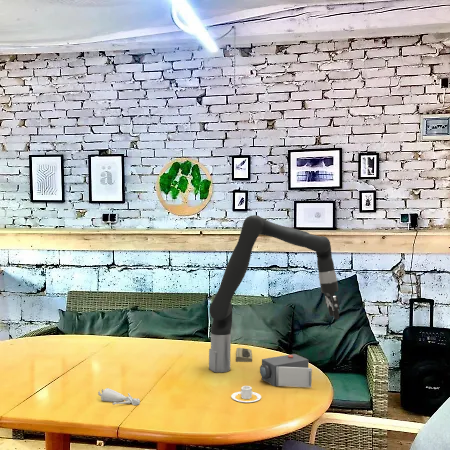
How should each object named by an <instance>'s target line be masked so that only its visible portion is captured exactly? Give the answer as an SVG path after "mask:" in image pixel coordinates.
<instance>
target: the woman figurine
mask: <svg viewBox="0 0 450 450" xmlns="http://www.w3.org/2000/svg"><path fill="white" fill-rule="evenodd" d="M127 395H128V396H125V395H123V393H120V392H118V391H116V390H114V389H111V388H109V387H107V388H105V389H103V388H101V392H100V390H98V396H100V399H101V401H102V402H109V403H112V405H122V404H132V406H139V405H140V403H141V400H140V398H133V396H131V394H130V393H129V392H128V393H127Z"/></svg>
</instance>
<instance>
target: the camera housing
mask: <svg viewBox="0 0 450 450" xmlns="http://www.w3.org/2000/svg"><path fill="white" fill-rule="evenodd" d="M276 366H278V367H300V368H309V359H307V358H306V357H303V356H300V355H299V354H296V353H292V354H287V355H279V356H273V357H266V358H261V365H260V366H259V373H260V376H261V380H263V381H264V382H266V383H267V384H270V386H273V387H277V386H276Z"/></svg>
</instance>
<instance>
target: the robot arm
mask: <svg viewBox="0 0 450 450" xmlns="http://www.w3.org/2000/svg"><path fill="white" fill-rule="evenodd" d="M241 226H242V227H241V230H240V234H239V238H238V240H237V243H236V245H235V247H234V249H233V251H232V253H231V255H230V258H229V260H228V262H227V265H226V267H225V270H224V273H223V276H222V279H221V282H220V284H219V287H218V290H217V292H216V294H215V296H214V298H213V300H212V302H211V303H210V306H209V309H208V310H209V315H210V317H211V318H212V324H211V326H210V348H209V349H208V350H209V351H208V354H209V355H208V369H209V371H212V372H214V373H226V372H229V371H231V350H232V349H231V347H232V346H231V345H232V344H231V341H232V339H231V338H232V337H231V336H232V335H231V334H232V333H231V331H232V327H233V305H232V300H233V297H234V294H235V293H236V291H237V289H238V288H239V286H240V285H241V283H242V281H243V280H244V278H245V276H246V273H247V271H248V269H249V266H250V261H251V256H252V252H253V249H254V245H255V243H256V241H257V239H258V237H259V235H260V236H268V237H271V238H275V239H277V240H280V241H283V242H284V243H287V244H291V245H294V246H297V247H301V248H306V249H308V250H310V251H314V252H315V255H316V259H317V262H316V263H317V264H316V265H317V269H318V270H317V271H318V281H319V286H320V292H321V293H322V294H324V299H325V305H326V306H327V309H328V313H329V316H330V317H333V319H334V320H339V319H340V317H341V316H340V313H339V310H340V303H339V297H338V295H336V293H337V292H338V291H339V284H338V278H337V274H336V271H335V270H336V269H335V266H334V260H333V256H332V254H333V253H332V245H331V241H330V239H329V238H328V237H327V236H324V235H321V236H320V235H316V234H312V233H309V232H307V231H305V230H300V229H297V228H292V227H289V226H285V225H281V224H278V223H275V222H272V221H269V220H267V219H265V218H263V217H261V216H259V215H255V214H254V215H248V216H247V217H246V218H245V219H244V220H243V223H242V225H241Z"/></svg>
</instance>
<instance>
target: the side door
mask: <svg viewBox="0 0 450 450" xmlns="http://www.w3.org/2000/svg"><path fill="white" fill-rule="evenodd" d="M312 371H313V368H312V367H308V368H300V367H278V366H276V386H275V387H279V386H280V387H292V388H293V387H297V388H312V380H313V378H312V375H313V374H312V373H313V372H312Z"/></svg>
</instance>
